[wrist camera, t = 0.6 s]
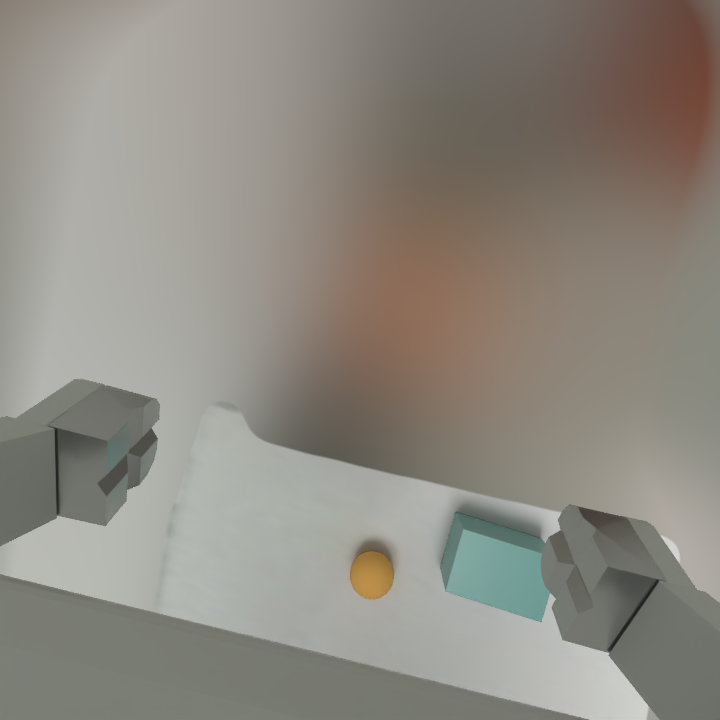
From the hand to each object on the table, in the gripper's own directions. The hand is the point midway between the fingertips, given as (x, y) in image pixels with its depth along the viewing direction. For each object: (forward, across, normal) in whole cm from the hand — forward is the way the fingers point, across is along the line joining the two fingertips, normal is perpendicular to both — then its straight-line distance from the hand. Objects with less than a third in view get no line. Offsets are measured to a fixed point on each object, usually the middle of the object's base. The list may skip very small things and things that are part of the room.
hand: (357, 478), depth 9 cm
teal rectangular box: (+36, +21, -33) cm, 53 cm away
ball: (+33, +8, -37) cm, 50 cm away
